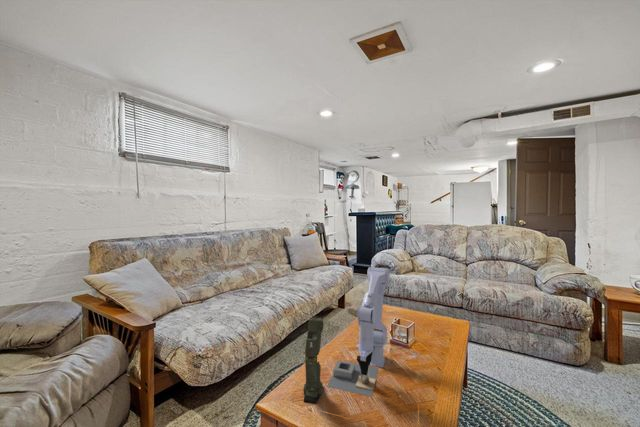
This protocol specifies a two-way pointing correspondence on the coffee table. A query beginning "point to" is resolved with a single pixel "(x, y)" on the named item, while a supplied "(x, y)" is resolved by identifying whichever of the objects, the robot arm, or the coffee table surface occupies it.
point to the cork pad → (368, 386)
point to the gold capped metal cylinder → (365, 378)
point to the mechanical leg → (313, 361)
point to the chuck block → (344, 370)
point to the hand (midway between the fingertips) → (365, 369)
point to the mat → (353, 381)
